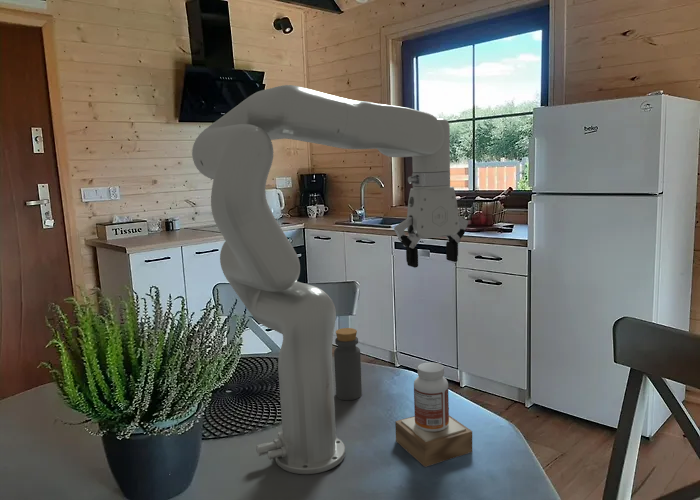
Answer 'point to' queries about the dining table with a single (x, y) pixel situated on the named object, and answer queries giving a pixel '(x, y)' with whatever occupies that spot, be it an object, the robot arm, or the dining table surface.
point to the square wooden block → (433, 441)
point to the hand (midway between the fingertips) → (432, 263)
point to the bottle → (347, 365)
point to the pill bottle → (431, 398)
